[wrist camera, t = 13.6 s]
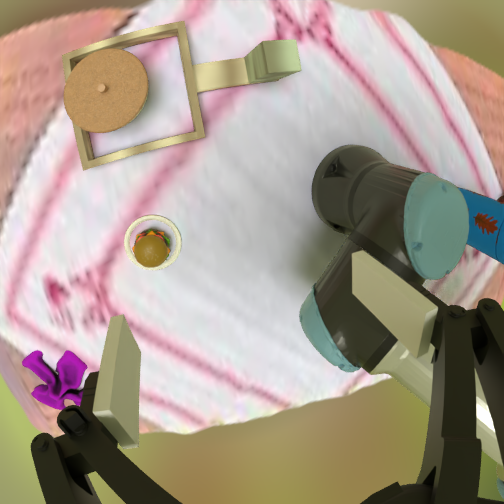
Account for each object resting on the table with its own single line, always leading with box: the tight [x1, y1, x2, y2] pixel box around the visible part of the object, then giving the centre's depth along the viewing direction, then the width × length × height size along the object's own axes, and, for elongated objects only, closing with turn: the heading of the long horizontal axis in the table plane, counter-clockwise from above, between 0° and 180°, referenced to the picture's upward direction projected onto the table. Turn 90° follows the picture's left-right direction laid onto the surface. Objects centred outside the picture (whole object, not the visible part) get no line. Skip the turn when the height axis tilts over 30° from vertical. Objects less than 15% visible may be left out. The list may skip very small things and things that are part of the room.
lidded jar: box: [64, 48, 149, 133], centre depth 33 cm, size 11×11×9 cm
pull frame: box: [62, 21, 301, 170], centre depth 33 cm, size 29×17×11 cm, turn 100°
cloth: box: [22, 350, 87, 410], centre depth 50 cm, size 22×19×6 cm
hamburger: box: [124, 215, 181, 270], centre depth 45 cm, size 12×12×6 cm
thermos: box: [457, 187, 504, 264], centre depth 48 cm, size 11×11×25 cm
